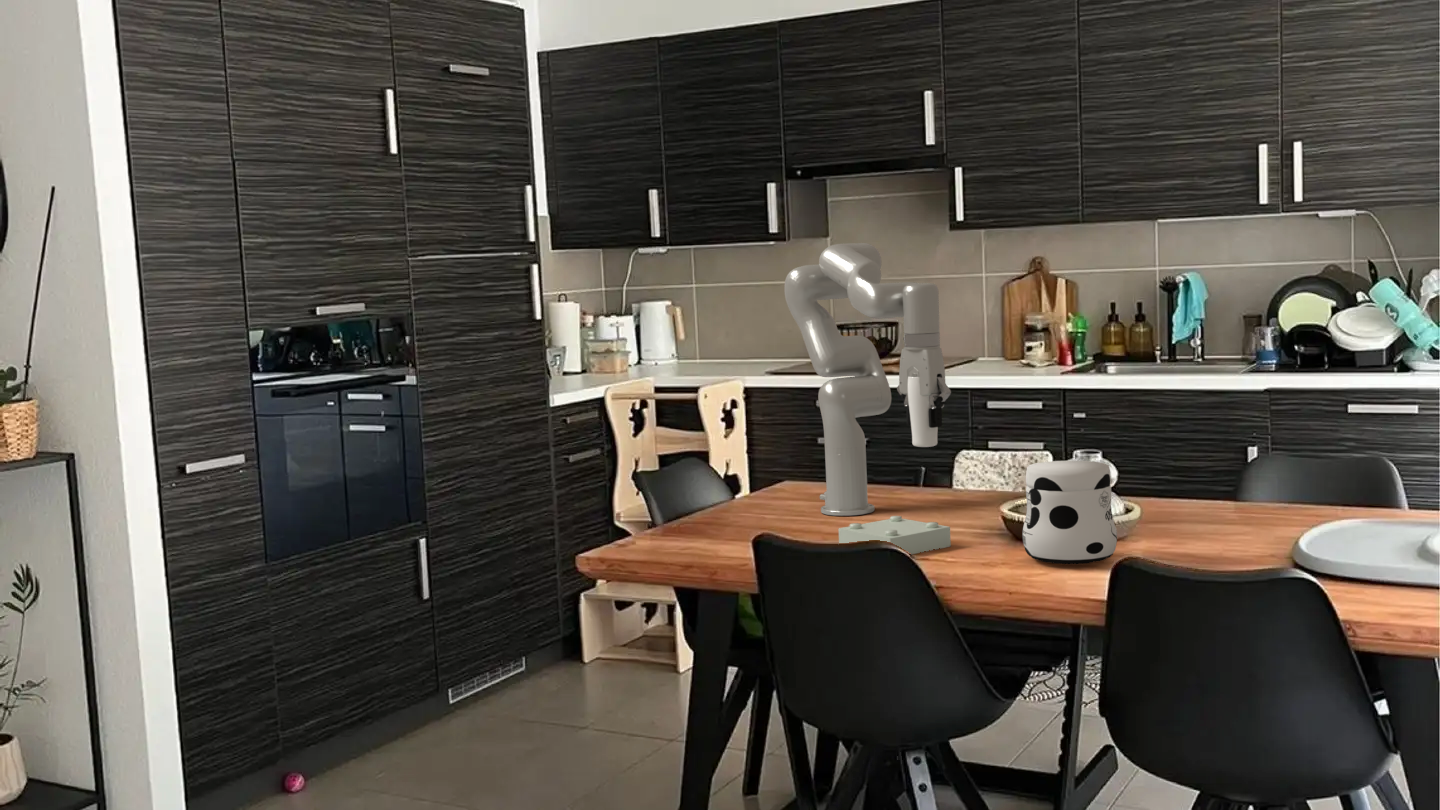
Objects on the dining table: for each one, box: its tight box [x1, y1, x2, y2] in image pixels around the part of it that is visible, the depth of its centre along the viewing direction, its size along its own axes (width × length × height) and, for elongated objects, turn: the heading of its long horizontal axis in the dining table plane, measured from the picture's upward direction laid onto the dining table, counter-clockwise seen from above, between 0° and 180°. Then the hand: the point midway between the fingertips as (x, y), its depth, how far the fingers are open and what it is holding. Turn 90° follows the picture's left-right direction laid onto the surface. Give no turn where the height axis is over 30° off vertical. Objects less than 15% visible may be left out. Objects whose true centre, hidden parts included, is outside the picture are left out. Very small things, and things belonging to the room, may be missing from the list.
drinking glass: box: [908, 377, 939, 448], centre depth 295 cm, size 7×7×15 cm
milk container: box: [1022, 460, 1118, 565], centre depth 262 cm, size 17×17×18 cm
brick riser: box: [838, 515, 952, 555], centre depth 282 cm, size 16×16×5 cm
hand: (924, 425), depth 295 cm, fingers closed on drinking glass, 6 cm apart
